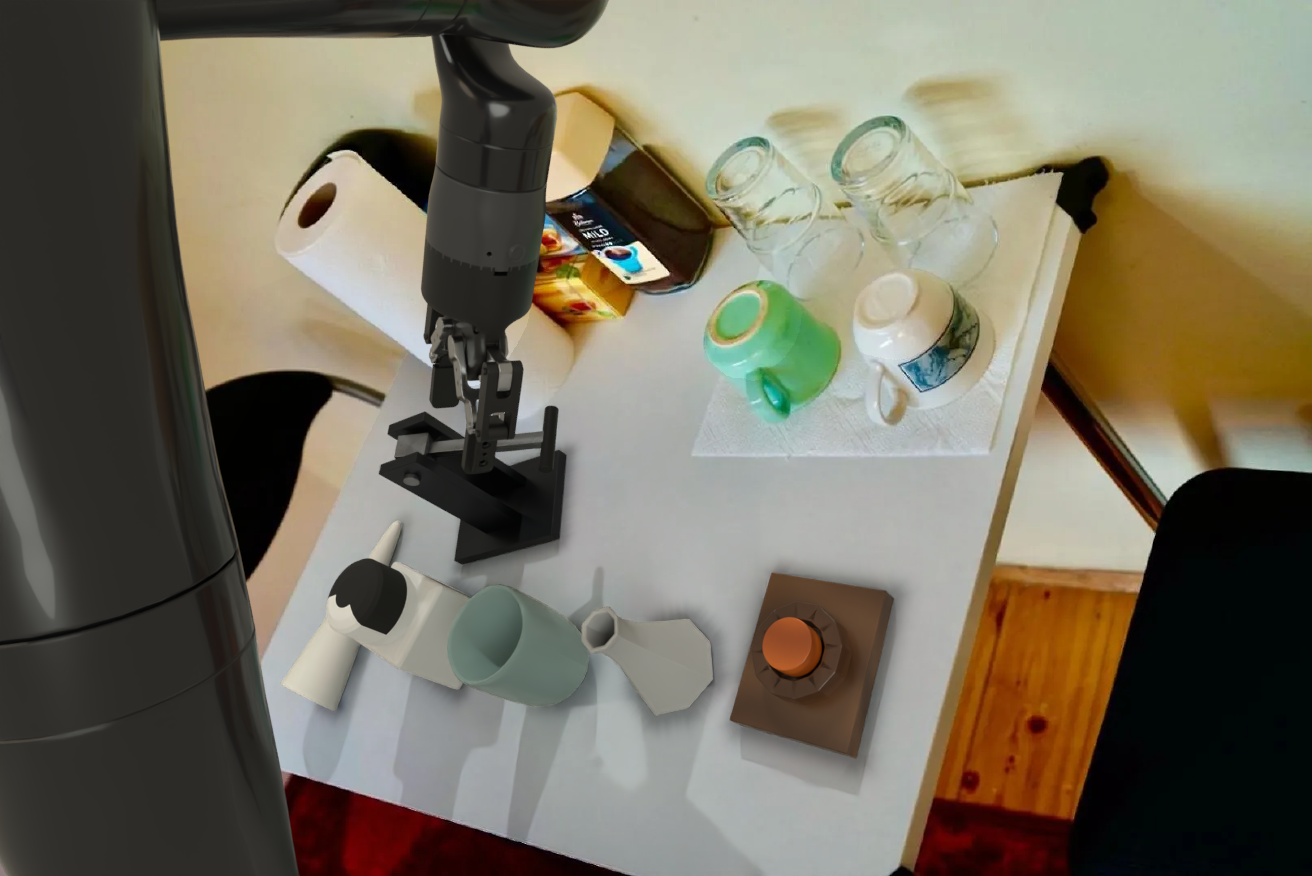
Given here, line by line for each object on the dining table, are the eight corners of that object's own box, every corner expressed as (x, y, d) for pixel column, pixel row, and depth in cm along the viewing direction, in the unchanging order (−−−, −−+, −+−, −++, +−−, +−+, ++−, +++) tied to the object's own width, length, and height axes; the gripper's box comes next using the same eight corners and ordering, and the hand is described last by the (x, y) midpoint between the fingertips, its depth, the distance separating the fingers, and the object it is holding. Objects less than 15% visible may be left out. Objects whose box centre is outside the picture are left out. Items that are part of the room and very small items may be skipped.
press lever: (562, 415, 78) (554, 400, 76) (557, 476, 75) (548, 462, 73) (413, 431, 80) (401, 416, 78) (402, 490, 77) (389, 476, 75)
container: (452, 587, 87) (347, 537, 77) (501, 612, 82) (395, 563, 72) (413, 661, 85) (301, 619, 76) (460, 691, 80) (346, 651, 71)
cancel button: (814, 682, 59) (803, 675, 58) (767, 671, 61) (755, 664, 60) (828, 629, 60) (817, 621, 59) (781, 620, 62) (770, 612, 61)
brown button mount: (857, 759, 58) (835, 748, 56) (740, 725, 64) (716, 714, 61) (894, 598, 62) (876, 581, 59) (781, 579, 67) (759, 563, 65)
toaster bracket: (566, 454, 86) (461, 378, 76) (559, 539, 82) (445, 471, 71) (474, 484, 92) (363, 417, 81) (462, 565, 87) (343, 505, 77)
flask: (696, 604, 70) (625, 560, 63) (729, 684, 66) (656, 645, 58) (624, 651, 72) (547, 613, 65) (651, 733, 67) (571, 701, 60)
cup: (617, 674, 71) (538, 638, 64) (547, 735, 72) (462, 706, 65) (581, 604, 77) (505, 564, 70) (517, 662, 78) (435, 628, 71)
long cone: (447, 540, 93) (346, 717, 86) (415, 533, 97) (317, 700, 90) (406, 513, 89) (297, 695, 82) (375, 506, 94) (269, 678, 87)
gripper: (400, 193, 62) (387, 389, 71) (460, 288, 52) (436, 502, 61) (502, 198, 66) (478, 383, 75) (577, 287, 56) (538, 489, 65)
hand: (459, 436), depth 68 cm, fingers open, 8 cm apart
